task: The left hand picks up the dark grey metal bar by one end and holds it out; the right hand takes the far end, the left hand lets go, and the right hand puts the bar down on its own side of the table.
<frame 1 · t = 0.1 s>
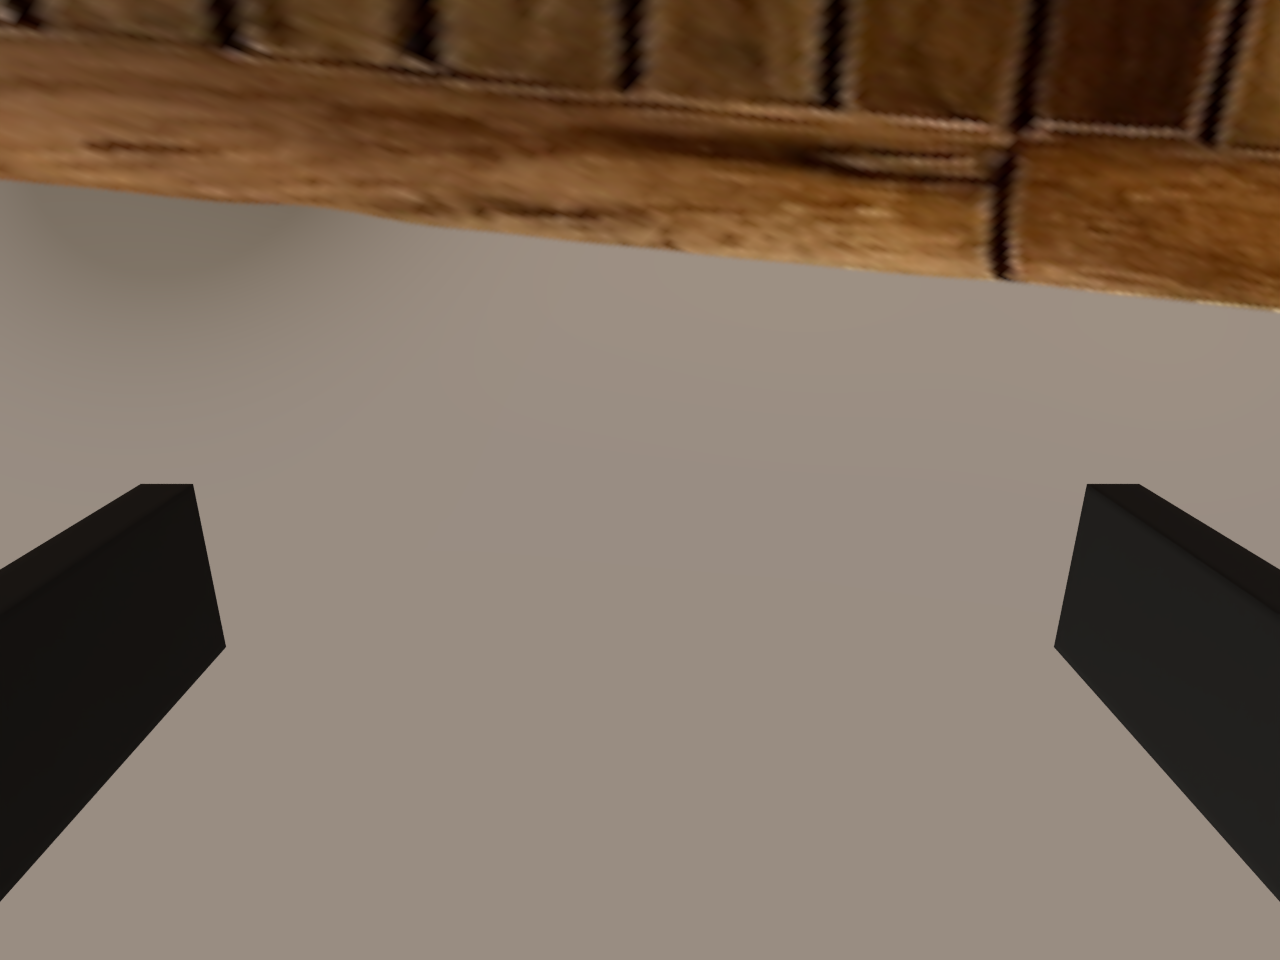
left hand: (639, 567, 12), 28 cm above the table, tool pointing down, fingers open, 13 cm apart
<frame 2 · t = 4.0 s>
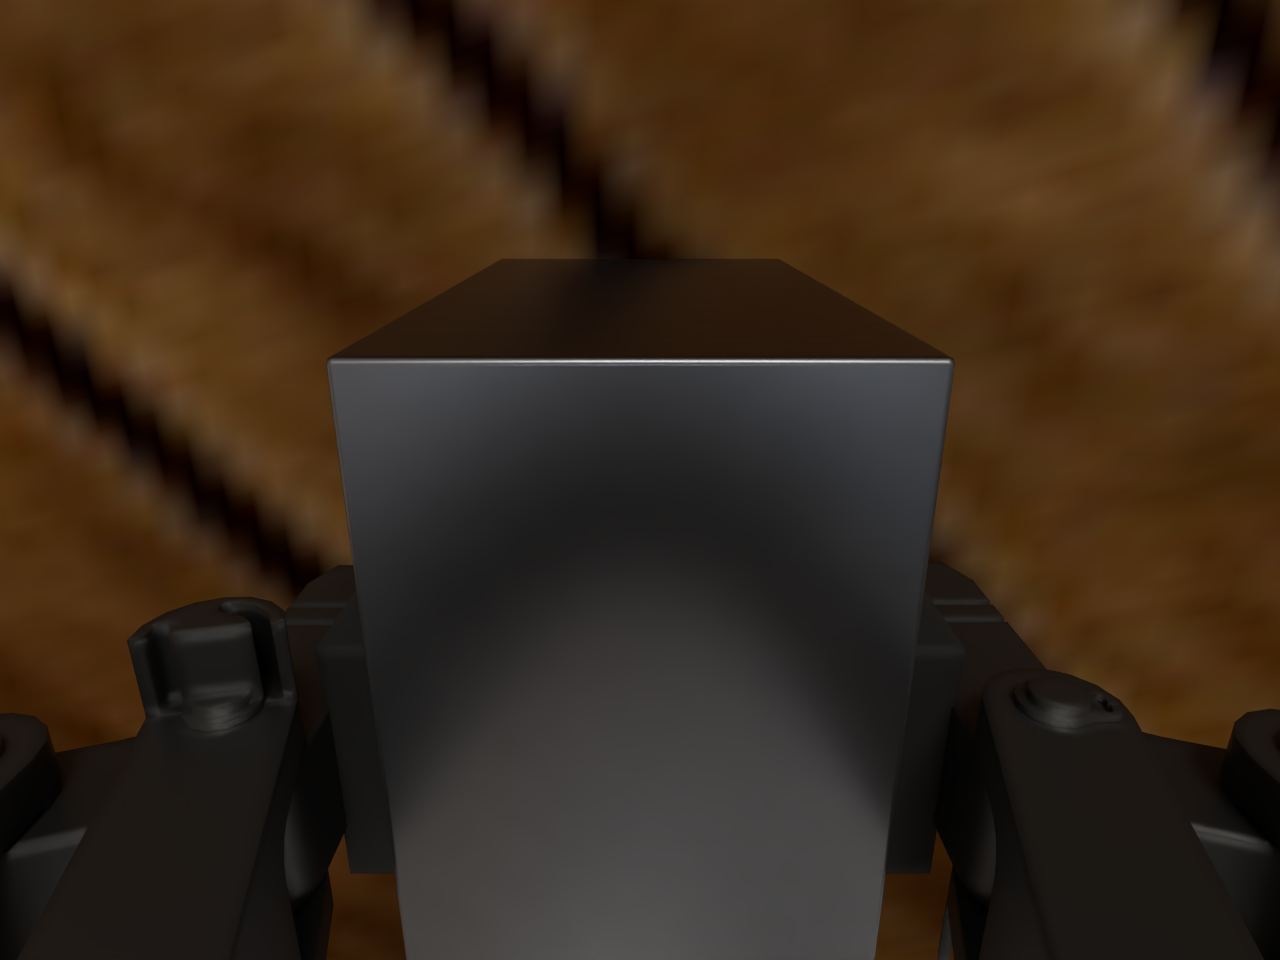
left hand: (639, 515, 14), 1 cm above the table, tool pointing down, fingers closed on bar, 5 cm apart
bar: (640, 907, 18), on the table, touching left hand
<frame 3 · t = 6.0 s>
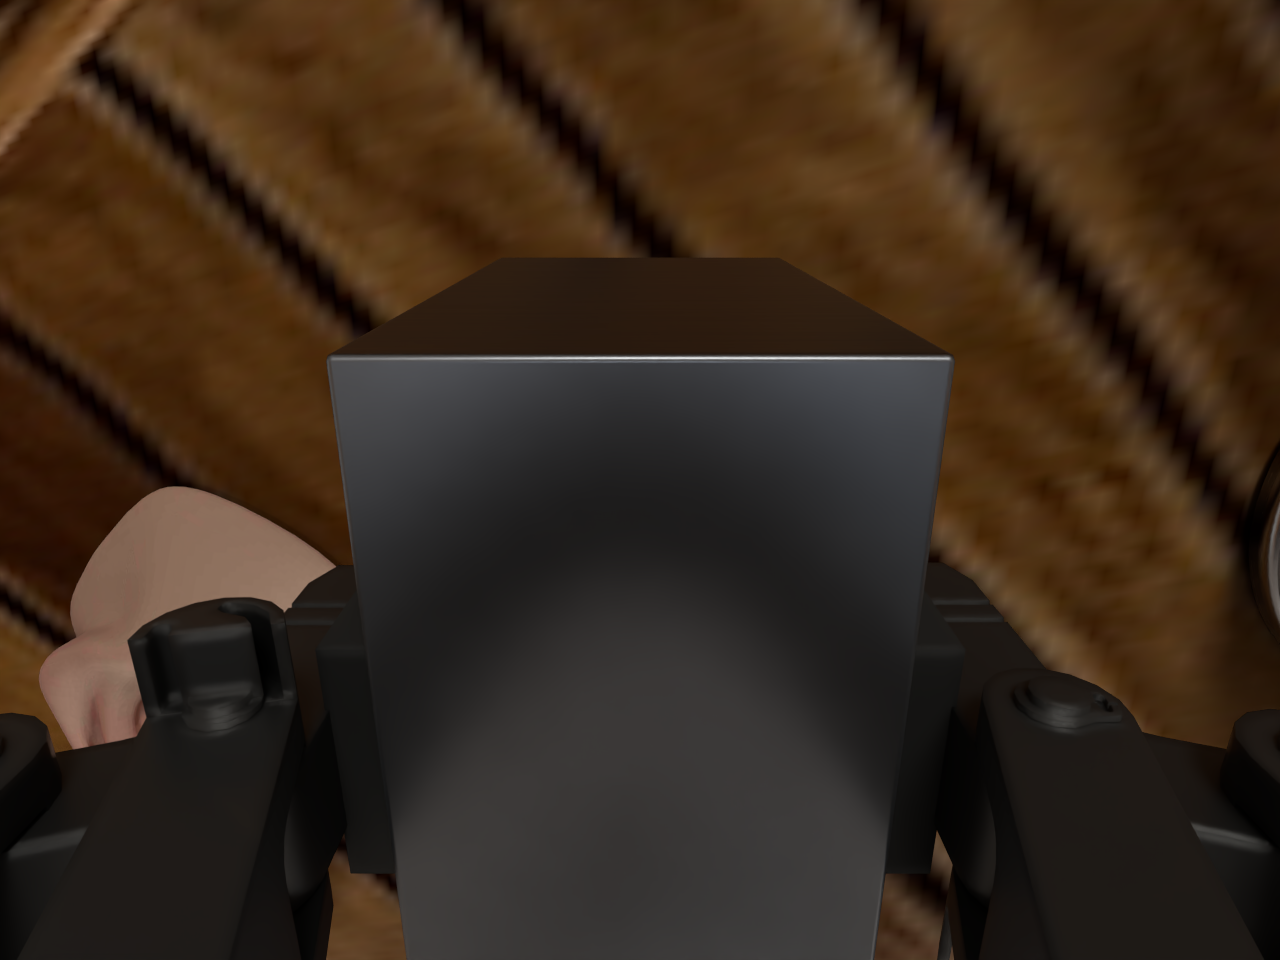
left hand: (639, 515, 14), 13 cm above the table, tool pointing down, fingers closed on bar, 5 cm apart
anatomical model: (237, 663, 30), on the table
bar: (640, 906, 18), point 12 cm above the table, touching left hand
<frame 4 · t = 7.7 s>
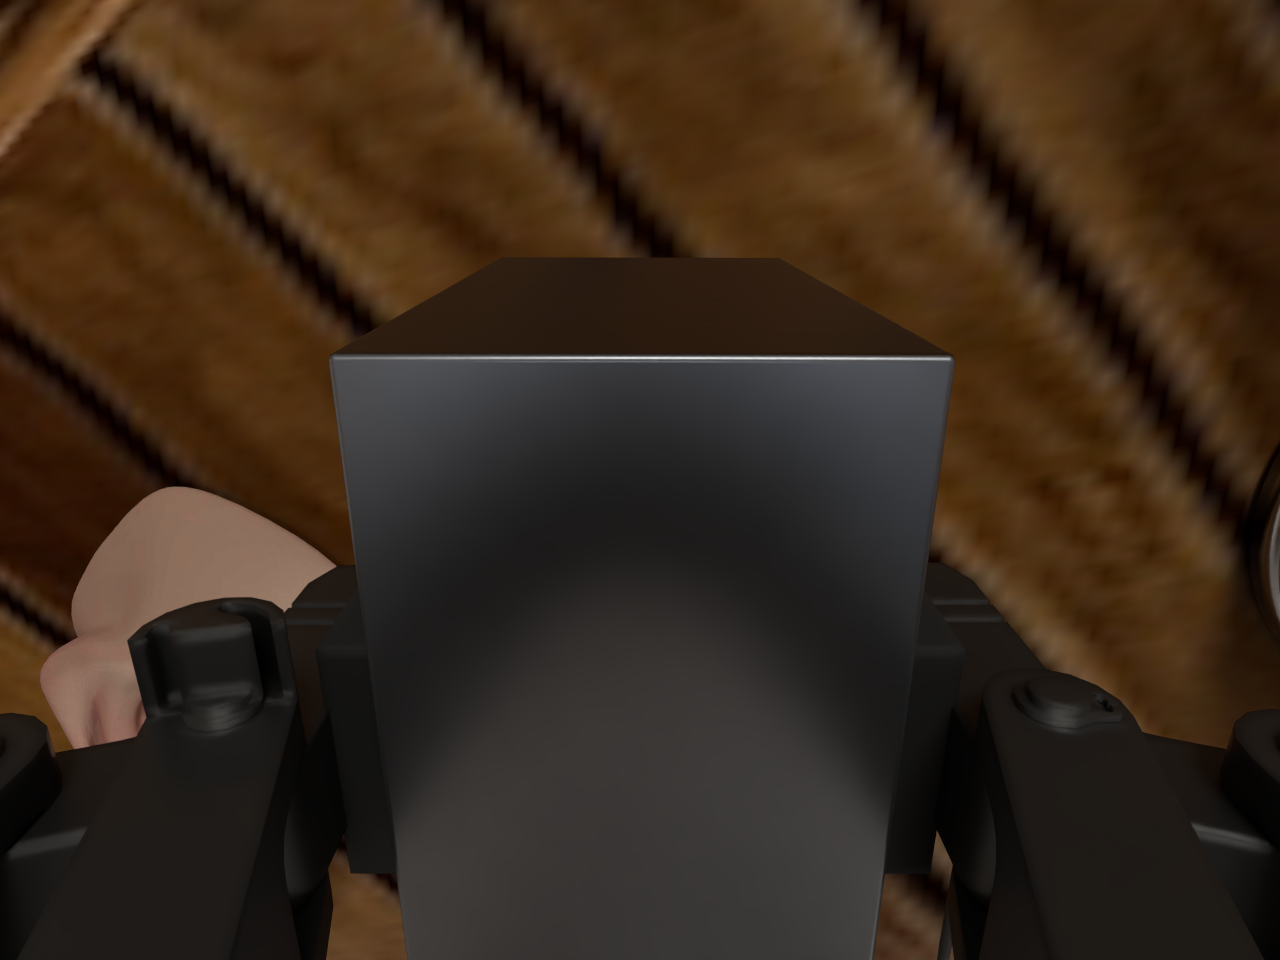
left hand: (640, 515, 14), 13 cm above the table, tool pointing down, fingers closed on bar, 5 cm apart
anatomical model: (237, 663, 30), on the table
bar: (638, 905, 18), point 12 cm above the table, touching left hand, right hand
when the left hand's fingers open (13 cm above the table, at t = 8.5 s): bar stays where it is, held by the right hand.
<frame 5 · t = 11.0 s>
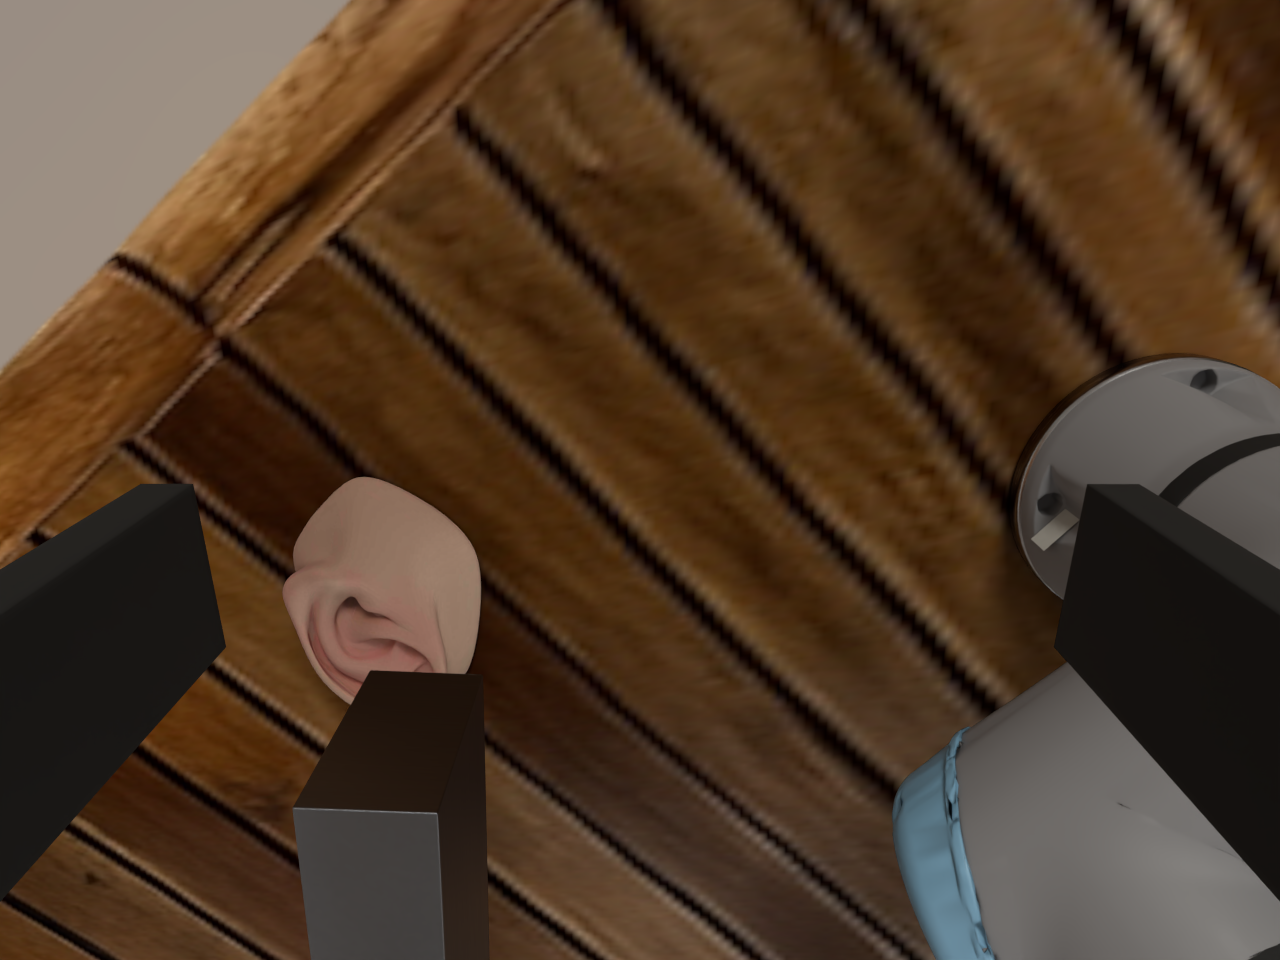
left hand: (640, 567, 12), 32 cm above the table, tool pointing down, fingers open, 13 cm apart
anatomical model: (390, 587, 48), on the table
bar: (439, 929, 38), point 15 cm above the table, touching right hand
when the right hand's fingers open (4 cm above the table, at t = 14.6 s): bar stays where it is, on the table.
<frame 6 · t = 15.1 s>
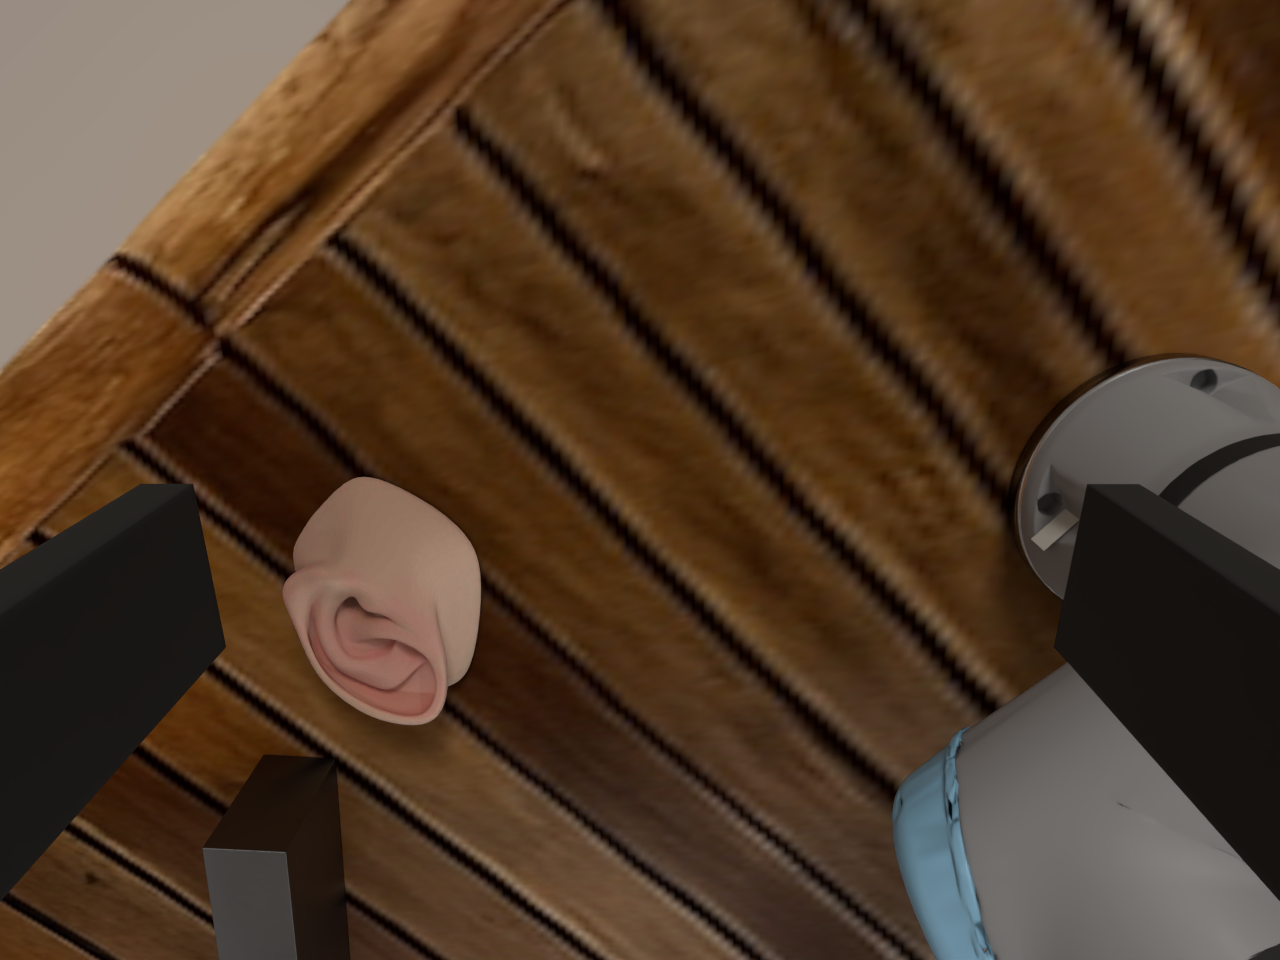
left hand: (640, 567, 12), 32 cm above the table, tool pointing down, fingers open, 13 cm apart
anatomical model: (390, 587, 48), on the table
bar: (314, 918, 57), on the table
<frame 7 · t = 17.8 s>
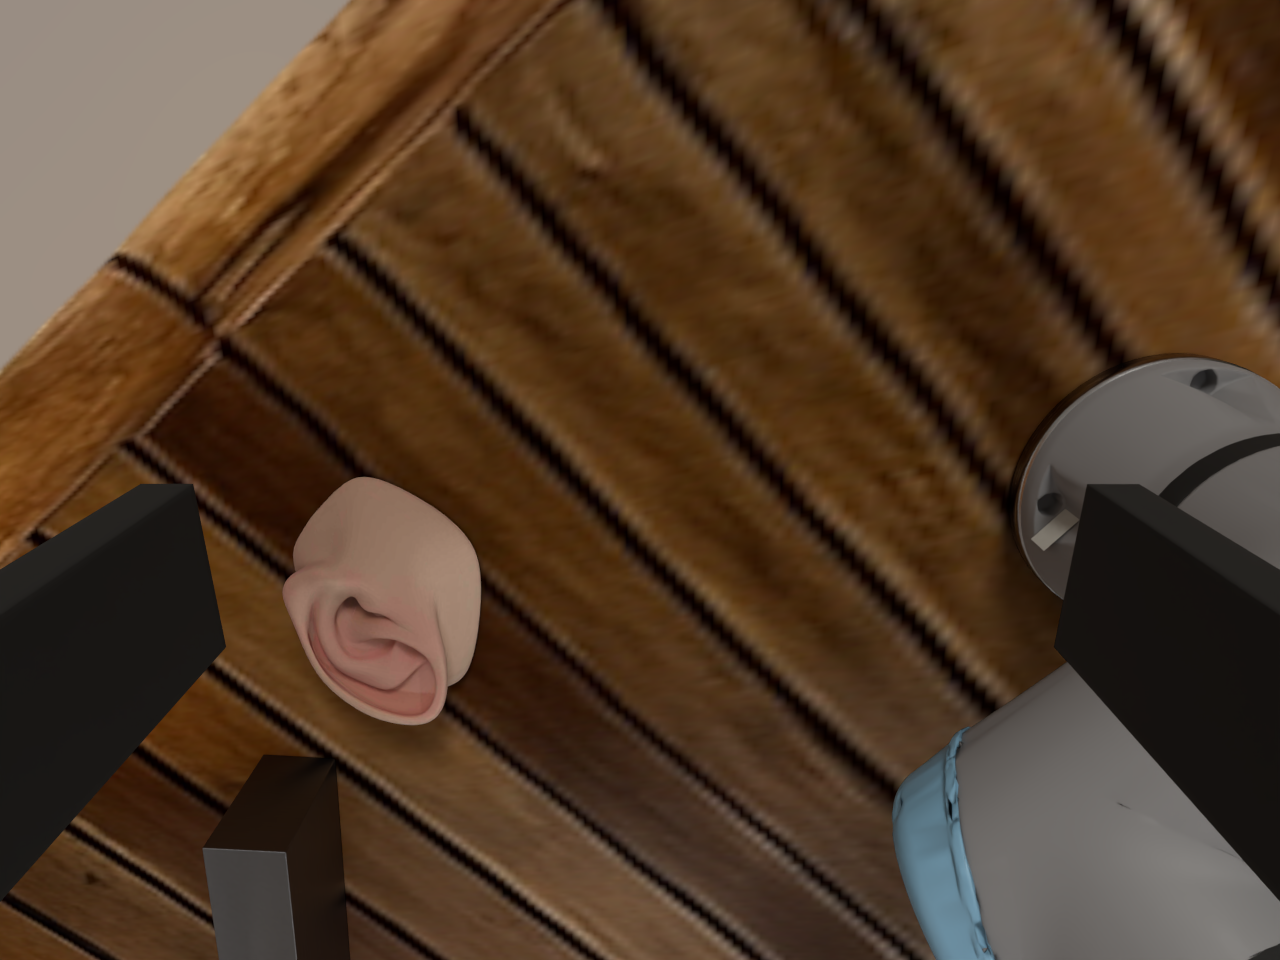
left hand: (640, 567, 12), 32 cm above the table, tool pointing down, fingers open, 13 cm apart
anatomical model: (390, 587, 48), on the table
bar: (314, 918, 57), on the table
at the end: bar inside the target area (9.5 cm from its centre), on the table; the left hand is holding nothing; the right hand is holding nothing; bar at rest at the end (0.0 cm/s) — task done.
